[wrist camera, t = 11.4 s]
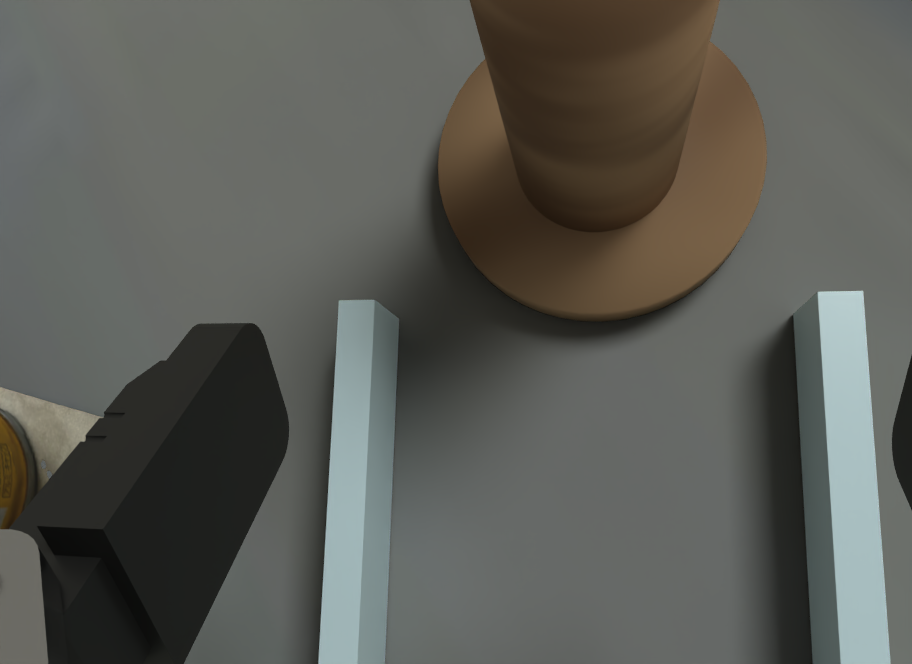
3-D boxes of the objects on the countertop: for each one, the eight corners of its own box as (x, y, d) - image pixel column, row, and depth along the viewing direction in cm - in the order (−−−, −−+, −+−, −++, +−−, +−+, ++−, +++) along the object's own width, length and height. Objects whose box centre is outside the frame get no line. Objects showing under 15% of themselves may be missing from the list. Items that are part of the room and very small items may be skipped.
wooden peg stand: (388, 162, 24) (218, -95, 13) (615, -24, 24) (627, -436, 13) (574, 386, 21) (550, 293, 11) (828, 182, 21) (1056, -115, 11)
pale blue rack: (871, 898, 18) (912, 963, 16) (341, 834, 20) (305, 882, 18) (832, 313, 21) (863, 290, 18) (367, 319, 23) (338, 300, 21)
